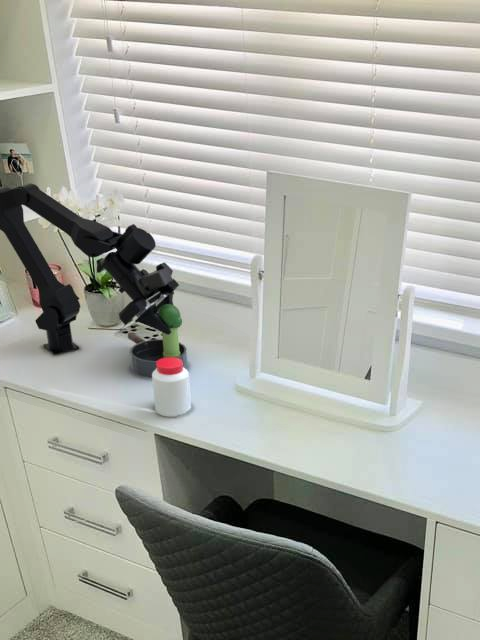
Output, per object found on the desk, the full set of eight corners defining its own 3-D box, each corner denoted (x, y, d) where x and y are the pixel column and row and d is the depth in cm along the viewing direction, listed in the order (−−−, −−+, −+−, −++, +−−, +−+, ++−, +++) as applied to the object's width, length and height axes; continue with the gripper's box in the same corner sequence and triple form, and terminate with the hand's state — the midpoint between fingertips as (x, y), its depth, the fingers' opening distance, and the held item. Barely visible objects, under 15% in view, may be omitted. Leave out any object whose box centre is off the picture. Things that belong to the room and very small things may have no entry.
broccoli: (154, 357, 183) (150, 306, 177) (165, 349, 188) (161, 298, 181) (178, 362, 182) (174, 310, 175) (188, 353, 186) (185, 303, 179)
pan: (121, 364, 188) (119, 347, 185) (168, 351, 195) (167, 335, 193) (150, 384, 180) (148, 366, 178) (198, 370, 188) (197, 352, 185)
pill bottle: (147, 411, 169) (143, 365, 163) (168, 397, 175) (164, 352, 169) (178, 420, 167) (174, 373, 161) (198, 405, 173) (195, 359, 167)
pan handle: (126, 339, 194) (125, 332, 193) (133, 337, 195) (132, 330, 194) (143, 349, 189) (142, 343, 188) (149, 348, 190) (148, 341, 189)
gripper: (125, 266, 165) (176, 324, 169) (168, 243, 180) (214, 297, 184) (97, 296, 171) (147, 352, 175) (141, 271, 186) (186, 323, 190)
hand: (175, 329), depth 181 cm, fingers closed on broccoli, 4 cm apart
